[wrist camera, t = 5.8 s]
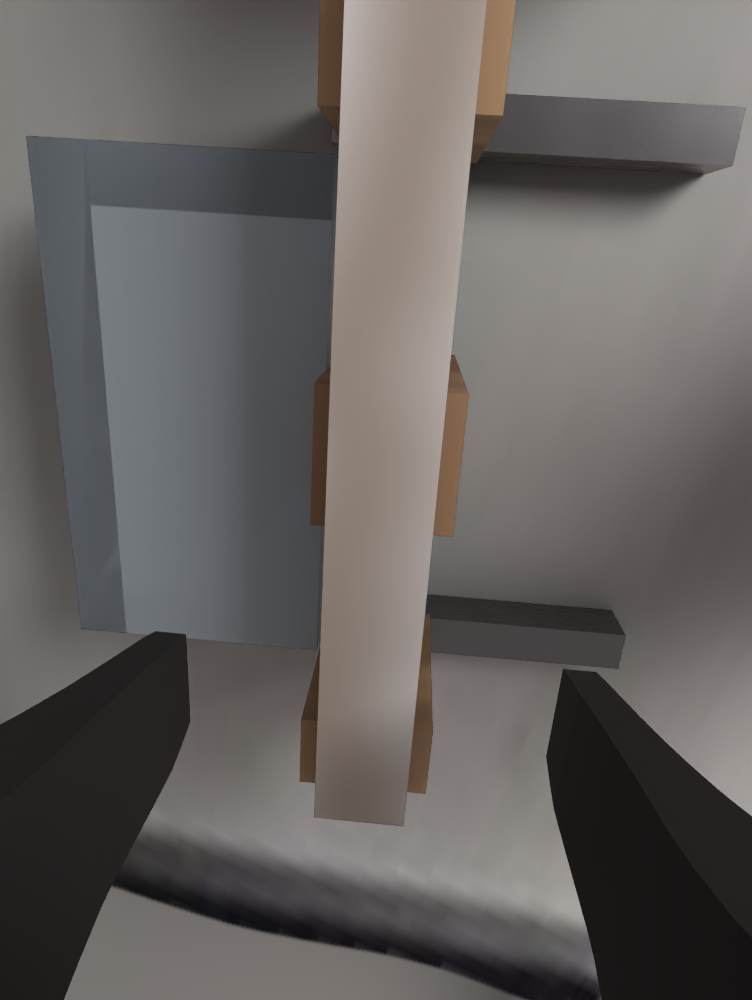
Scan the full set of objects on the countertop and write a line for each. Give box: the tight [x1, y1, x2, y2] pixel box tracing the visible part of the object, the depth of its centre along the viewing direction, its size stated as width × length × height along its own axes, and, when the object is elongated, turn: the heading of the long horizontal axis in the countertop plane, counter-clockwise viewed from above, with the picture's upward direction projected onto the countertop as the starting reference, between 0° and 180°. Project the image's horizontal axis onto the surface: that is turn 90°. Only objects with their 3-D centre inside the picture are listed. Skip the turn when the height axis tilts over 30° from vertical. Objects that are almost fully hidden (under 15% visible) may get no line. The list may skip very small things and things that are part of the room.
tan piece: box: [300, 0, 516, 826], centre depth 15 cm, size 3×16×7 cm, turn 176°
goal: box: [26, 136, 338, 650], centre depth 17 cm, size 6×11×5 cm, turn 176°
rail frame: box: [319, 94, 746, 669], centre depth 18 cm, size 10×15×2 cm, turn 176°
